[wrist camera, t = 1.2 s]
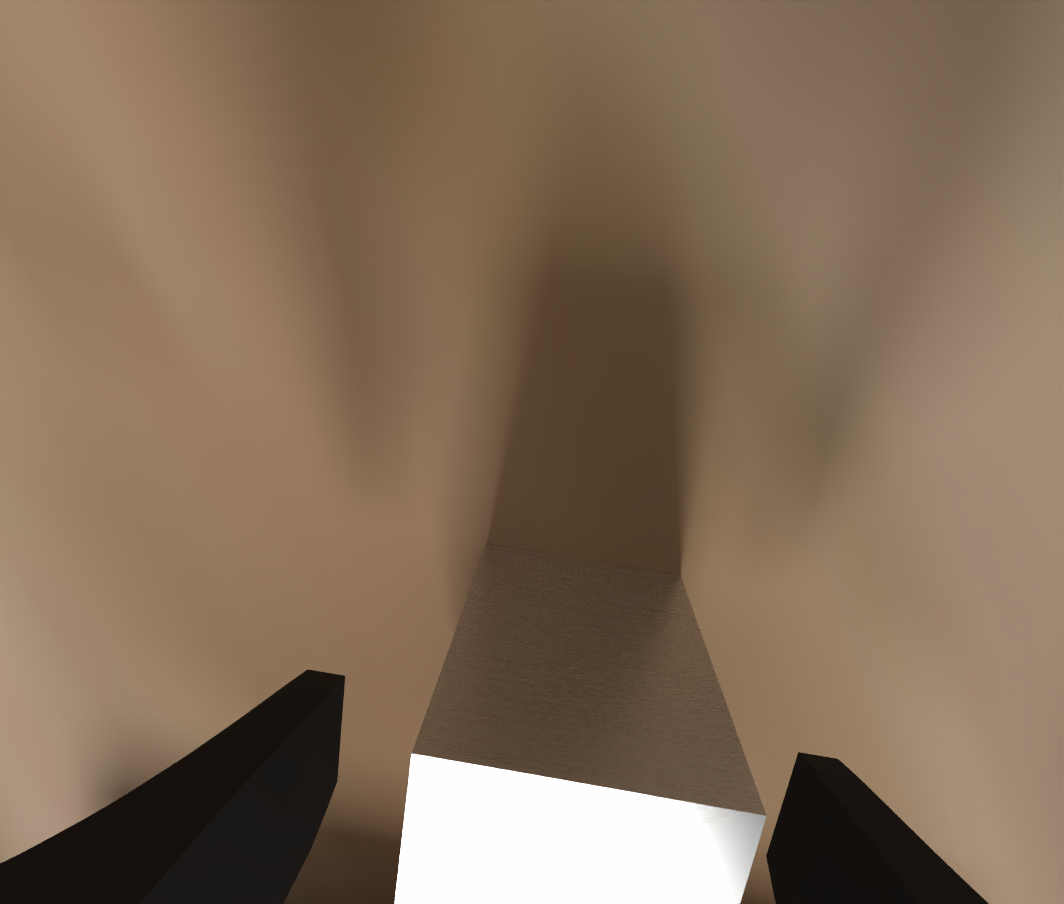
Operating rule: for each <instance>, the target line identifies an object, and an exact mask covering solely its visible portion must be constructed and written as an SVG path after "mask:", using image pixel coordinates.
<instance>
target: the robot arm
mask: <svg viewBox="0 0 1064 904" xmlns="http://www.w3.org/2000/svg"><path fill="white" fill-rule="evenodd" d="M344 684H345V676H343V675H337V674H331V673H325V672H319V671H314V670H306V671H305V672H304V673H302V674H301V675H299V676H298V677H296V678H295V679H293V680H292V681H291V682H289V683H288V684H286V685H285V686H284V687H282V688H281V689H280V690H278V691H277V692H275V693H274V694H273V695H271V696H270V697H269V698H267V699H266V700H265V701H263V702H262V703H261V704H259V705H258V706H256V707H255V708H254V709H252V710H251V711H250V712H248V713H247V714H245V715H244V716H243V717H241V718H240V719H238V720H237V721H236V722H234V723H233V724H231V725H230V726H229V727H227V728H226V729H224V730H223V731H221V732H220V733H219V734H217V735H216V736H214V737H213V738H211V739H210V740H209V741H207V742H206V743H204V744H203V745H201V746H200V747H198V748H197V749H196V750H194V751H193V752H191V753H190V754H188V755H187V756H185V757H184V758H182V759H181V760H179V761H178V762H176V763H175V764H173V765H172V766H170V767H168V768H167V769H165V770H164V771H162V772H161V773H159V774H158V775H156V776H154V777H153V778H151V779H150V780H148V781H147V782H145V783H143V784H142V785H140V786H139V787H137V788H136V789H134V790H132V791H131V792H129V793H128V794H126V795H125V796H123V797H121V798H120V799H118V800H116V801H115V802H113V803H111V804H110V805H108V806H106V807H104V808H103V809H101V810H99V811H98V812H96V813H94V814H92V815H91V816H89V817H87V818H85V819H84V820H82V821H80V822H78V823H76V824H75V825H73V826H71V827H69V828H67V829H65V830H64V831H62V832H60V833H58V834H56V835H54V836H53V837H51V838H49V839H47V840H45V841H43V842H42V843H40V844H38V845H36V846H34V847H32V848H30V849H28V850H26V851H25V852H23V853H21V854H19V855H17V856H15V857H13V858H11V859H9V860H7V861H5V862H3V863H1V864H0V904H283V903H284V901H285V899H286V897H287V895H288V893H289V891H290V889H291V887H292V885H293V883H294V881H295V879H296V877H297V875H298V873H299V871H300V869H301V868H302V866H303V864H304V862H305V860H306V858H307V856H308V854H309V852H310V850H311V848H312V845H313V842H314V840H315V837H316V835H317V832H318V830H319V827H320V825H321V822H322V820H323V817H324V815H325V812H326V810H327V807H328V804H329V802H330V799H331V796H332V794H333V791H334V788H335V786H336V783H337V777H338V763H339V750H340V737H341V724H342V711H343V698H344ZM766 857H767V862H768V867H769V872H770V877H771V882H772V887H773V892H774V897H775V901H776V904H989V903H987V902H986V901H985V900H984V899H983V898H982V897H981V896H980V895H979V894H978V893H977V892H976V891H975V890H974V889H973V888H971V887H970V886H969V885H968V884H967V883H966V882H965V881H964V880H963V879H962V878H961V877H960V876H959V875H958V874H957V873H956V872H955V871H954V870H953V869H952V868H951V867H949V866H948V865H947V864H946V863H945V862H944V861H943V860H942V859H941V858H940V857H939V856H938V855H937V854H936V853H935V852H934V851H933V850H932V849H931V848H930V847H929V846H928V845H927V844H926V843H925V842H924V841H923V840H922V839H921V838H920V837H919V836H918V835H917V834H916V833H915V832H914V831H913V830H912V829H910V828H909V827H908V826H907V825H906V824H905V823H904V822H903V821H902V820H901V819H900V818H899V817H898V816H897V815H896V814H895V813H894V812H893V811H892V810H891V809H890V808H889V807H888V806H887V805H886V804H885V803H884V802H883V801H882V800H881V799H880V798H879V797H878V796H877V795H876V794H875V793H874V792H873V791H872V790H871V789H870V788H869V787H868V786H867V785H866V784H865V783H863V782H862V781H861V780H860V779H859V778H858V777H857V776H856V775H855V774H854V773H853V772H852V771H851V770H850V769H849V768H847V767H846V766H845V765H844V764H843V763H842V762H841V761H840V760H838V759H835V758H829V757H823V756H817V755H811V754H806V753H800V752H798V755H797V759H796V762H795V765H794V768H793V771H792V775H791V778H790V781H789V784H788V788H787V791H786V794H785V797H784V800H783V804H782V807H781V810H780V813H779V817H778V820H777V823H776V826H775V830H774V833H773V836H772V839H771V842H770V846H769V849H768V852H767V855H766Z"/></svg>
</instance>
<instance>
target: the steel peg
mask: <svg viewBox="0 0 1064 904" xmlns="http://www.w3.org/2000/svg"><path fill="white" fill-rule="evenodd" d="M765 819H766V813H765V810H764V807H763V805H762V802H761V799H760V796H759V793H758V791H757V788H756V785H755V782H754V779H753V777H752V774H751V771H750V768H749V765H748V763H747V760H746V757H745V754H744V752H743V749H742V746H741V743H740V740H739V738H738V735H737V732H736V729H735V726H734V724H733V721H732V718H731V715H730V712H729V710H728V707H727V704H726V701H725V698H724V696H723V693H722V690H721V687H720V685H719V682H718V679H717V676H716V673H715V671H714V668H713V665H712V662H711V659H710V657H709V654H708V651H707V648H706V645H705V643H704V640H703V637H702V634H701V631H700V629H699V626H698V623H697V620H696V618H695V615H694V612H693V609H692V606H691V604H690V601H689V598H688V595H687V592H686V590H685V587H684V584H683V581H682V578H681V576H680V575H674V574H667V573H661V572H655V571H649V570H643V569H637V568H631V567H625V566H619V565H613V564H607V563H601V562H594V561H588V560H582V559H576V558H570V557H564V556H558V555H552V554H546V553H540V552H534V551H528V550H521V549H515V548H509V547H503V546H497V545H491V544H486V547H485V549H484V552H483V555H482V558H481V561H480V563H479V566H478V569H477V572H476V575H475V577H474V580H473V583H472V586H471V589H470V591H469V594H468V597H467V600H466V603H465V605H464V608H463V611H462V614H461V617H460V619H459V622H458V625H457V628H456V631H455V633H454V636H453V639H452V642H451V645H450V647H449V650H448V653H447V656H446V659H445V661H444V664H443V667H442V670H441V673H440V675H439V678H438V681H437V684H436V687H435V689H434V692H433V695H432V698H431V701H430V703H429V706H428V709H427V712H426V715H425V717H424V720H423V723H422V726H421V729H420V731H419V734H418V737H417V740H416V743H415V745H414V748H413V751H412V754H411V763H410V772H409V781H408V789H407V798H406V807H405V816H404V825H403V834H402V842H401V851H400V860H399V869H398V878H397V886H396V895H395V904H740V902H741V899H742V896H743V892H744V889H745V886H746V882H747V879H748V876H749V872H750V869H751V866H752V863H753V859H754V856H755V853H756V849H757V846H758V843H759V839H760V836H761V833H762V829H763V826H764V823H765Z"/></svg>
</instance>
